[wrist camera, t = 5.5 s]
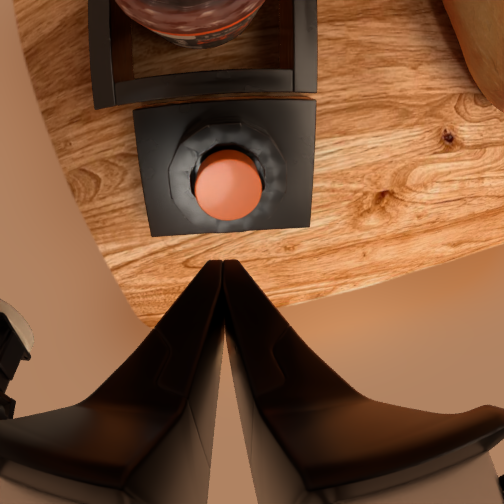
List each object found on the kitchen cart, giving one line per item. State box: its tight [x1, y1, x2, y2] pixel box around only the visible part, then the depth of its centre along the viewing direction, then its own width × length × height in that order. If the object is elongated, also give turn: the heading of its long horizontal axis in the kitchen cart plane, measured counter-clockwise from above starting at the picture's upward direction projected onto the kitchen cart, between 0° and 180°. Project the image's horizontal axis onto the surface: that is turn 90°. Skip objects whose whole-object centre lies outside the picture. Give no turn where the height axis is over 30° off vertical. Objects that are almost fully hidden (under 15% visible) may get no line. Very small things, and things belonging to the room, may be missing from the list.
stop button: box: [195, 150, 262, 220], centre depth 16 cm, size 3×3×2 cm
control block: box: [133, 96, 316, 237], centre depth 18 cm, size 10×8×4 cm
